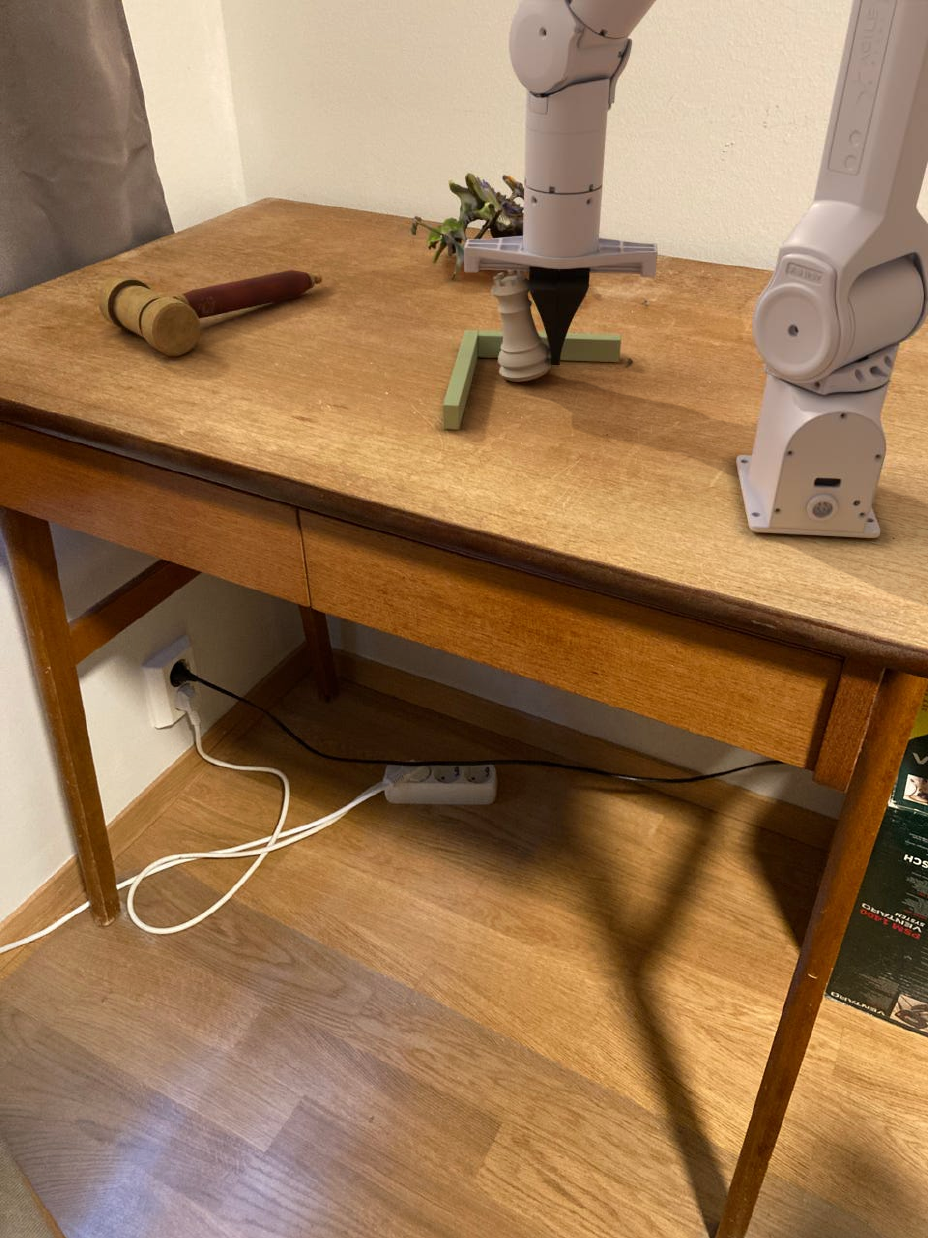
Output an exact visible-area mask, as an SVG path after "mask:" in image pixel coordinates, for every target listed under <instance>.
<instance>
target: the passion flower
mask: <svg viewBox="0 0 928 1238" xmlns="http://www.w3.org/2000/svg"><path fill="white" fill-rule="evenodd" d="M464 180H465V185H466V187H464V186H462V185H460V184H458V183H455V182H454V181H453V179H452V178H449V180H448V187H449V190H450V191H451V192H452V193H453V194H454V195H456V196H457V198H459V200H460V207H459V216H458V219H456V218H454V217H449V218H446V219H445V220H444V221H443V222H442V223H441V224H440V225H436V226H435V227H432V226H429V225H427V224H425V223H423V222H421V221H422V216H421V217H420V216H418V215H415V216H414V217H413V221H412V224H411V228H410V232H411V234H412V235H413V236H416V235H417V229H418V225H419V226H422V227H423V228H426V229H428V230H429V231H430V233H429V234H428V239H427V248H428V250H429V251H431V250H432V249H434V250H435V252H434V254H433V256H432V258H433V264H436V263H437V261H438V259H439V257H440V255H441V254H442V253H443V250H444V249H446V248H447V249H446V250H447V256H448V257H452V256H453V255H454V256H455V268H454V272H453V274H452V276H451V278H450V280H451V281H454V279H455V278H456V276H457V275H458V273H459V271H460V269H461V268H462V266H463V265H464V246H465V244H466V241H467V239H468V238H467V235H466V231H467V228H468V226H469V224H471V223H472V222H475V221H479V220H480V221H485V223H484V224H483V225H482V226H481V230H480V231H479V232H478V233H477V235H476V236H475V237H474V238H473V239H483V237H484V235H485V233H486V232H487V231H489V232H490V235H491V239H493V238H504V237H516V236H523V218H524V206H521V203H517V202H516V201H515V199H517V198H520V199H522V200H523V202H524V184H523V182H520V181H516V179H515V178H514V177H513V176H512V175H510V174H509V175H506V174H504V175H502V181H503V182H504V183H505V184H506V185H507V187H508V188H510V190H511V192H512V193H511V194H510V196H509V197H507V194H504V195H502V193H501V192H500V191H497V192H496V191H495V188H494V187H493V186H491V184H490V183H489V182H488V181H486V180H485V178H484V179H482V180H481V178H480V177H479V176H476V175H475V174H473V173H471V172H470V173H468V172H467V174H466V175H465V177H464ZM439 242H440V243H439ZM463 242H464V244H462V243H463ZM437 244H439V246H438V249H437Z"/></svg>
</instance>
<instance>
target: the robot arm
mask: <svg viewBox="0 0 928 1238" xmlns="http://www.w3.org/2000/svg"><path fill="white" fill-rule="evenodd" d="M656 2H657V0H519V3H518V6H517V9H516V11H515V12H514V15H513V17H512V21H511V24H510V29H509V34H508V35H509V36H508V51H509V57H510V62H511V66H512V69H513V71H514V73H515V76H516V77H517V79H518V81H519V83H520V84H521V85H522V86H523V87H524V88H525V89H526V92H525V99H526V100H525V130H524V131H525V134H524V136H525V137H524V176H523V178H524V179H523V182H524V184H523V188H524V201H523V207H524V210H523V213H524V218H523V236H516V237H504V238H481V239H474V238H467V241H466V244H465V243H464V245H465V246H464V264H463V265H464V268H463V270H464V272H465V273H478V272H479V271H508V270H513V271H514V272H515V271H516V272H517V271H523V272H529V273H528V280H529V283H528V287H529V294H530V296H531V299H532V301H533V303H534V304H535V307H536V309H537V311H538V314H539V317H540V319H541V321H542V322H541V323H542V325H543V328H544V332H546V335H547V339H548V343H549V349H550V356H551V366H557V367H558V366H559V367H560V364H561V360H560V356H561V351H562V347H563V344H564V341H565V338H566V335H567V333H569V329H570V327H571V325H572V322H573V321H574V318H575V316H576V314H577V311H578V310H579V308H580V306H581V304H582V303H583V301H584V299H585V297H586V295H587V293H588V290H589V287H590V274H591V273H592V274H625V275H626V274H627V275H628V274H629V275H640V277H642V278H655V277H656V274H657V265H658V255H659V249H658V244H657V243H647V242H636V241H627V240H620V239H615V238H606V237H600V229H601V228H600V227H601V217H602V215H601V214H602V201H603V199H602V197H603V187H604V186H603V183H604V171H605V170H604V169H605V155H606V143H607V142H606V141H607V125H608V112H609V111H610V110H611V109H612V105H613V104H615V97H616V89H617V88H616V87H617V83H618V80H619V79H620V77H621V75H622V74H623V72H624V71H625V69H626V67H627V65H628V63H629V59H630V57H631V53H632V49H633V48H632V47H633V39H632V38H629V37H630V35H631V34H632V32H633V31H634V30H635V29H636V27H637V26H638V25H639V24H640V23H641V21H642V19H643V18H644V17H645V15H647V13H648V12H649V10H650V9H651V8H652V7H653V5H654V4H655V3H656ZM843 43H844V44H843V49H842V53H841V59H840V63H839V64H840V65H839V69H838V75H837V79H836V85H835V89H834V94H833V99H832V104H831V109H830V115H829V119H828V125H827V130H826V135H825V139H824V144H823V150H822V155H821V160H820V165H819V170H818V174H817V180H816V185H815V190H814V195H813V199H812V202H811V203H810V206H809V207H808V208H807V209H806V211H805V212H804V214H803V215H802V217H801V218H800V219H799V220H798V222H797V223H796V224H795V225H794V227H793V228H792V230H791V231H790V232H789V234H788V235H787V236H786V238H785V239H784V241H783V242H782V243H781V245H780V247H779V248H778V249H779V250H778V253H777V260H776V263H775V268H774V271H773V274H772V276H771V278H770V280H769V282H768V283H767V284H766V286H765V287H764V289H762V290H763V291H761V293H760V295H759V296H758V298H757V301H756V302H755V305H754V309H753V313H752V320H751V321H752V322H751V323H752V325H751V329H752V337H753V341H754V345H755V348H756V351H757V353H758V354H759V356H760V358H761V360H762V361H763V363H764V367H763V372H764V373H765V374H766V378H765V384H764V389H763V393H762V400H761V404H760V405H761V406H760V409H759V410H760V411H759V416H758V421H757V426H756V432H755V438H754V443H753V448H752V454H739V455H738V456H736V458H735V459H736V460H735V464H736V469H737V473H738V479H739V480H738V481H739V483H740V485H739V486H740V488H741V494H742V499H743V505H744V509H745V514H746V518H747V524H748V528H749V529H750V530H751V532H755V533H768V534H769V533H770V534H786V535H803V536H805V535H806V536H824V537H825V536H826V537H828V536H829V537H843V538H844V537H845V538H864V539H865V538H866V539H876V538H879V537H880V534H881V527H880V525H879V523H878V520H877V518H876V515H875V512H874V510H873V507H872V506H873V502H874V498H875V494H876V491H877V489H878V488H877V487H878V484H879V480H880V478H881V477H880V476H881V473H882V470H883V466H884V463H885V460H886V459H885V458H886V454H887V439H886V433H885V431H884V428H883V427H884V426H883V424H882V418H881V417H882V412H883V408H884V404H885V401H886V397H887V393H888V390H889V386H890V382H891V378H892V374H893V371H894V367H895V362H896V360H897V356H898V352H899V348H900V346H901V345H900V344H901V343H903V342H906V341H907V340H909V339H911V338H912V337H913V336H914V335H915V334H917V332H918V331H919V330H920V329H921V328H922V326H923V325H924V324H925V322H926V320H927V318H928V222H927V220H926V219H925V218H924V216H923V215H922V214H921V213H920V212H919V211H920V210H919V209H918V208H917V207H918V202H919V198H920V194H921V191H922V187H923V182H924V179H925V175H926V171H927V168H928V0H852V3H851V8H850V14H849V17H848V23H847V28H846V33H845V39H844V42H843Z"/></svg>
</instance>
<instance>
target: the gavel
mask: <svg viewBox="0 0 928 1238" xmlns="http://www.w3.org/2000/svg"><path fill="white" fill-rule="evenodd" d="M322 282H323V276H322V274H321V273H317V272H316V273H311V272H310V271H306V272H305V271H300V270H296V269H289V270H285V271H279V272H274V273H269V274H265V275H264V274H263V275H259V276H254V277H248V278H245V279H239V280H234V281H229V282H225V283H220V284H215V285H211V286H210V285H209V286H206V287H200V288H195V289H191V290H189V291H186V292H184V293H181V294H179V295H174V296H163V295H162V294H159V293H157V292H155V291H153V290H151V288H150V287H149V286H148V285H147V284H146V283H145V282H144V281H141V280H139V279H137V278H136V277H133V276H131V275H128V274H117V275H113V276H111V277H110V278H108V279H107V280H106V281H105V282H104V283H103V284H102V286H101V288H100V290H99V293H98V299H97V301H98V308H99V311H100V312H101V315H102V317H103V318H104V319H105V320H106V321H107V322H109V323H110V324H112V325H113V326H115V327H117V328H119V329H121V330H123V331H126V332H132V333H135V334H137V335H138V336H140V337H142V338H144V339H145V341H146V343H147V344H148V345H149V346H151V347H152V348H154V349H156V350H157V351H159V352H161V353H163V354H165V355H166V356H169V357H178V356H182V355H185V354H187V353H188V352H190V351H191V350H192V349H193V348H194V347H195V346H196V344H197V342H198V340H199V337H200V334H201V321H200V319H201V320H202V319H204V318H210V317H214V316H219V315H222V314H227V313H232V312H236V311H240V310H245V309H250V308H254V307H259V306H264V305H267V304H268V305H269V304H272V303H277V302H282V301H286V300H290V299H294V298H295V299H296V298H298V297H299V298H300V296H302V295H303V294H305V293H306V292H307V291H309V290H311V289H313V288H314V287H315V286H316V285H319V284H321V283H322Z"/></svg>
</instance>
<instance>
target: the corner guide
mask: <svg viewBox="0 0 928 1238" xmlns="http://www.w3.org/2000/svg"><path fill="white" fill-rule="evenodd" d="M537 332H538V334H539V336H541V337H542V341H543V342H544V343H546V344H547V345H548V347H549V343H548V339H547V335H546V331H537ZM502 343H503V330H486V329H480V330H479V329H465V330H464V333H463V336H462V340H461V342H460V346H459V350H458V352H457V355H456V360H455V363H454V366H453V370H452V372H451V377H450V380H449V383H448V386H447V390H446V393H445V396H444V399H443V403H442V421H443V423H442V426H443V430H455V431H456V430H460V427H461V423H462V420H463V415H464V412H465V409H466V404H467V400H468V396H469V393H470V389H471V385H472V381H473V377H474V373H475V370H476V366H477V361H478V358H483V359H485V358H489V359H498V356H499V353H500V351H501V350H502V349H501V344H502ZM621 346H622V335H621V334H611V333H610V334H608V333H577V332H576V333H575V332H574V333H573V332H567V335H566V338H565V341H564V344H563V347H562V351H561V356H560V361H571V362H572V361H573V362H596V363H597V362H599V363H620V358H621V349H622V348H621ZM548 356H549V357H550V358H551V356H550V353H549V355H548Z"/></svg>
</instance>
